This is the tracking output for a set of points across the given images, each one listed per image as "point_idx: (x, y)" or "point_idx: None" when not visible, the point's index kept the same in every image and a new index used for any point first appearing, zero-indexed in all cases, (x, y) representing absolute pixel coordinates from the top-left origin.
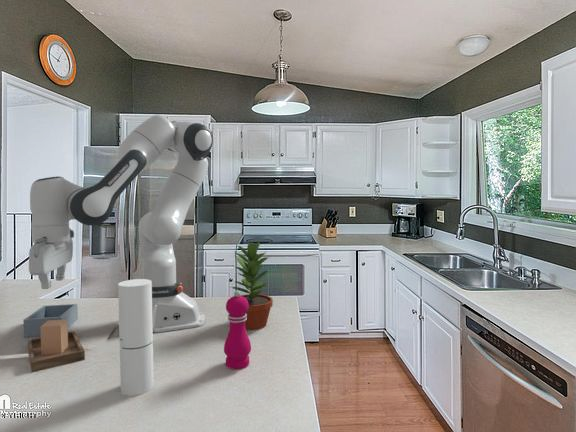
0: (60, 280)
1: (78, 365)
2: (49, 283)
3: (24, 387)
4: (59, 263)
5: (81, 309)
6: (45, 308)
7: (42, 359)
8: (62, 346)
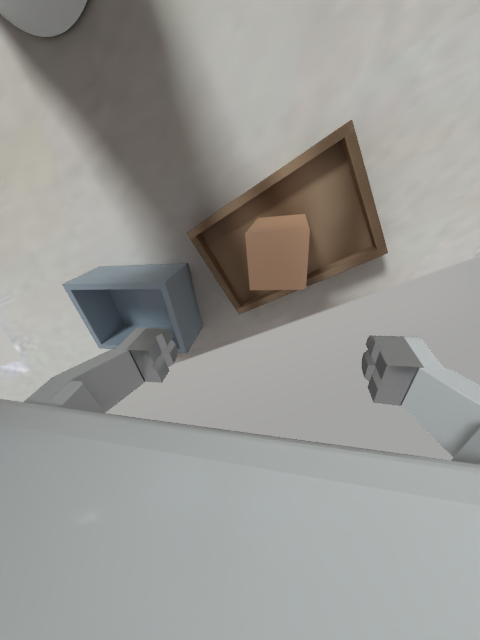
0: (172, 335)
1: (385, 127)
2: (418, 357)
3: (470, 224)
4: (227, 490)
5: (36, 288)
6: (105, 341)
7: (375, 233)
8: (296, 217)
